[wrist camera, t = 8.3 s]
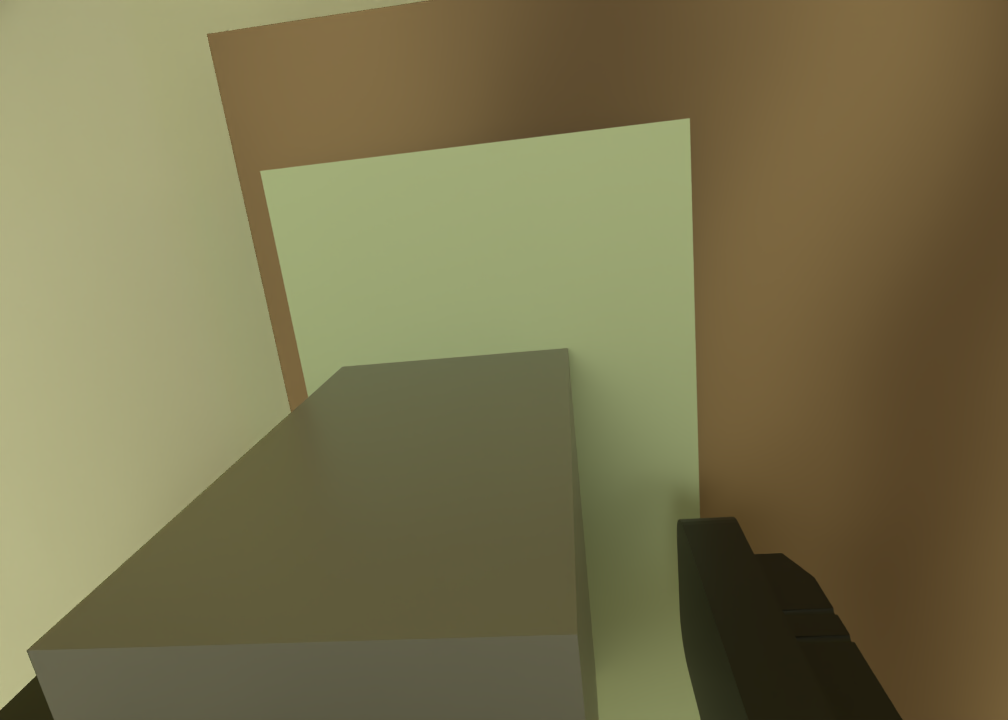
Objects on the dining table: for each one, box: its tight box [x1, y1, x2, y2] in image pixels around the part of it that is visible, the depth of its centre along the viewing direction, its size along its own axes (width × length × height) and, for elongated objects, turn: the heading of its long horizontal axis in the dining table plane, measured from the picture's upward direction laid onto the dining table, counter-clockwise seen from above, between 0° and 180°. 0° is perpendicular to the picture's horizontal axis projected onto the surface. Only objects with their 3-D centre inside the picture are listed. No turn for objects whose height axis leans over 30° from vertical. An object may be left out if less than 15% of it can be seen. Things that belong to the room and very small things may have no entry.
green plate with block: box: [27, 118, 701, 720], centre depth 8 cm, size 6×12×6 cm, turn 6°
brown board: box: [207, 0, 1008, 720], centre depth 10 cm, size 22×16×3 cm
